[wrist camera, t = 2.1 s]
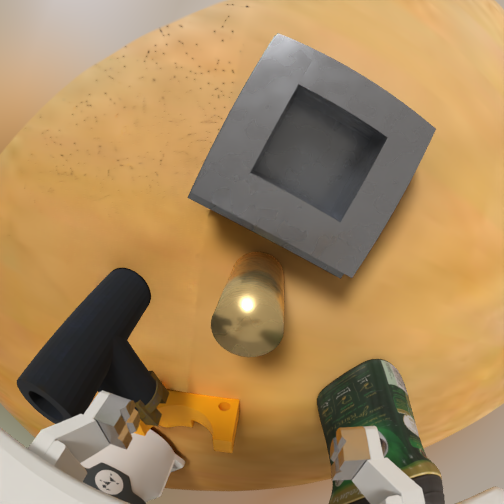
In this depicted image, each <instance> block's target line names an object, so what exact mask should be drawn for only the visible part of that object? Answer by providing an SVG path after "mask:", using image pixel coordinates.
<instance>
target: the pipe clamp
mask: <svg viewBox="0 0 504 504" xmlns="http://www.w3.org/2000/svg"><path fill="white" fill-rule="evenodd" d="M167 390H168V392H169V396H168V398H167V401H166V403H159V405H158V406H157V409H158V410H159V411H160V413H161V414H162V416H161V419H160V422H159V426H163V427H168V428H169V427H174V426H188V427H193V424H194V421H196V422H198V423H200V424H202V425H203V426H205V427H206V428H207V429H208V430H209V431H210V433H211V434H212V436H213V446H214V451H219V452H227V453H232V451H233V446H234V440H235V435H236V429H237V423H238V418H239V399H230V398H221V397H213V396H206V395H199V394H193V393H187V392H181V391H176V390H170V389H167ZM152 427H153V425H146V424H145V423H144V422H143V421H142V420H141V419H140V423H139V427H138V429H137V431H136V432H134V433H136V434H139V435H142V436H145V435H146V434H147V432H148V431H149V430H150V429H151V428H152Z"/></svg>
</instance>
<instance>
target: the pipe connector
mask: <svg viewBox="0 0 504 504" xmlns="http://www.w3.org/2000/svg"><path fill="white" fill-rule="evenodd" d="M150 300H151V293H150V289H149V287H148V285H147V283H146V281H145V280H144V279H143V278H142V277H141V276H140V275H139V274H138V273H136V272H135V271H133V270H130V269H127V268H117V269H115V270H113V271H112V272H111V273H110V274H109V275H108V276H107V277H106V278H105V279H104V280H103V281H102V282H101V283H100V284H99V285H98V286H97V287H96V288H95V289H94V290H93V291H92V292H91V293H90V294H89V295H88V296H87V298H86V299H85V300H84V301H83V302H82V303H81V304H80V305H79V306H78V307H77V308H76V310H75V311H74V312H73V313H72V314H71V315H70V316H69V317H68V318H67V320H66V321H65V322H64V323H63V324H62V325H61V326H60V328H59V329H58V330H57V331H56V332H55V333H54V335H53V336H52V337H51V338H50V339H49V340H48V342H47V343H46V344H45V345H44V347H43V348H42V349H41V350H40V351H39V353H38V354H37V355H36V356H35V358H34V359H33V360H32V361H31V363H30V364H29V365H28V367H27V368H26V369H25V370H24V372H23V373H22V374H21V376H20V377H19V378H18V380H17V386H18V388H19V390H20V391H21V393H22V395H23V396H24V397H25V398H26V400H27V401H28V402H29V403H30V404H31V405H32V406H33V407H34V408H35V409H36V410H37V411H38V412H39V413H41V414H42V415H43V416H44V417H46V418H47V419H49V420H50V421H52V422H53V423H55V424H57V423H60V422H62V421H65V420H67V419H70V418H72V417H74V416H77V415H79V414H84V413H85V412H86V410H87V409H88V407H89V405H90V404H91V402H92V400H93V398H94V396H95V394H96V393H97V391H98V392H101V391H102V390H103V391H106V392H109V393H112V394H114V395H117V396H120V397H123V398H126V399H130V400H133V401H134V402H135V405H136V407H135V408H134V409H136V410H137V411H138V413H139V415H140V419H141V420H142V421H143V422H144V423H145V424H146V425H153V426H158V425H159V422H160V419H161V416H162V414H161V413H160V411H159V410H158V409H157V406H158V405H159V403H166V401H167V398H168V396H169V392H168V390H167V389H166V388H165V387H164V385H163V384H162V383H161V381H160V380H159V379H158V377H157V376H156V375H155V373H154V372H153V371H148V370H147V368H146V367H145V366H144V364H143V363H142V361H141V360H140V359H139V357H138V356H137V354H136V353H135V351H134V350H133V348H132V347H131V345H130V344H129V342H128V341H127V339H128V337H129V336H130V334H131V332H132V331H133V329H134V328H135V326H136V324H137V323H138V321H139V320H140V318H141V316H142V315H143V313H144V312H145V310H146V308H147V307H148V305H149V303H150Z"/></svg>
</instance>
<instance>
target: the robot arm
mask: <svg viewBox="0 0 504 504" xmlns="http://www.w3.org/2000/svg"><path fill="white" fill-rule="evenodd" d="M135 407H136V405H135V402H134V401H133V400H130V399H126V398H123V397H120V396H117V395H114V394H112V393H109V392H106V391H103V390H102V391H101V392H99V393H98V395H97V396H96V398H95V399H94V400H93V402H92V403H91V405H90V406H89V407H88V409H87V410H86V412H85V413H84V414H79V415H77V416H74V417H72V418H70V419H67V420H65V421H62V422H60V423H57V424H55V425H53V426H50V427H48V428H45V429H42V430H41V431H40V433H39V434H38V435H37V437H36V438H35V439H34V441H33V442H32V443H31V445H30V446H29V447H28V448H26V447H25V446H24V445H22V444H21V443H20V442H18V441H17V440H16V439H14V438H13V437H12V436H11V435H9V434H8V433H7V432H6V431H4V430H3V429H2V428H1V427H0V504H146V502H148V501H149V500H151V499H156V498H157V497H160V496H161V495H162V492H163V490H164V487H165V485H166V482H167V480H168V477H169V475H170V472H173V471H175V470H178V469H180V468H183V467H184V464H185V461H184V460H183V459H182V458H180V457H179V456H178V455H176V454H175V453H174V451H173V450H172V448H171V447H170V445H169V444H168V443H167V442H166V441H165V440H164V439H163V438H162V437H160V436H159V435H158V434H157V433H155V432H154V431H152V430H151V429H150V430H149V431H148V432H147V434H146V435H145V436H142V435H139V434H136V433H134V432H136V431H137V429H138V427H139V423H140V415H139V413H138V411H137V410H136V409H134V408H135ZM330 459H331V460H332V461H333V462H334V463H333V465H332V466H331V478H332V480H352V481H353V483H354V484H355V485H356V487H357V488H358V489H359V490H360V492H361V493H362V494H363V495H364V497H365V498H366V499H367V500H368V501H369V503H370V504H425V500H424V495H423V491H422V488H421V487H420V486H419V485H417V484H416V483H415V482H414V481H413V480H412V479H411V478H409V477H408V476H407V475H406V474H405V473H404V472H403V471H402V470H400V469H399V468H398V467H397V466H396V465H395V464H394V463H393V462H392V461H390V460H389V459H388V458H384V456H383V451H382V447H381V442H380V438H379V434H378V429H377V427H376V426H365V427H363V426H360V427H344V428H338V429H337V431H336V437H335V438H333V440H332V443H331V447H330ZM456 504H504V490H503V489H501V488H499V487H492V488H490V489H487V490H485V491H483V492H481V493H479V494H477V495H475V496H473V497H471V498H468V499H466V500H463V501H461V502H458V503H456Z"/></svg>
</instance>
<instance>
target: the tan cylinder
mask: <svg viewBox="0 0 504 504" xmlns="http://www.w3.org/2000/svg"><path fill="white" fill-rule="evenodd" d="M211 329H212V333H213V336H214V337H215V339H216V341H217V342H218V343H219V344H220V345H221V346H222V347H223V348H224V349H226V350H227V351H229V352H231V353H233V354H236V355H239V356H244V357H256V356H261V355H264V354H267V353H269V352H270V351H272V350H273V349H275V348H276V347H277V346H278V344H279V343H280V341H281V339H282V337H283V333H284V273H283V269H282V266H281V265H280V263H279V262H278V261H277V260H276V259H275V258H274V257H273V256H271V255H269V254H267V253H264V252H251V253H248V254H245V255H243V256H242V257H241V258H239V259H238V261H237V262H236V263H235V265H234V267H233V270H232V272H231V274H230V277H229V279H228V281H227V284H226V286H225V288H224V291H223V293H222V295H221V297H220V300H219V302H218V304H217V307H216V309H215V312H214V314H213V316H212V320H211Z"/></svg>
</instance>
